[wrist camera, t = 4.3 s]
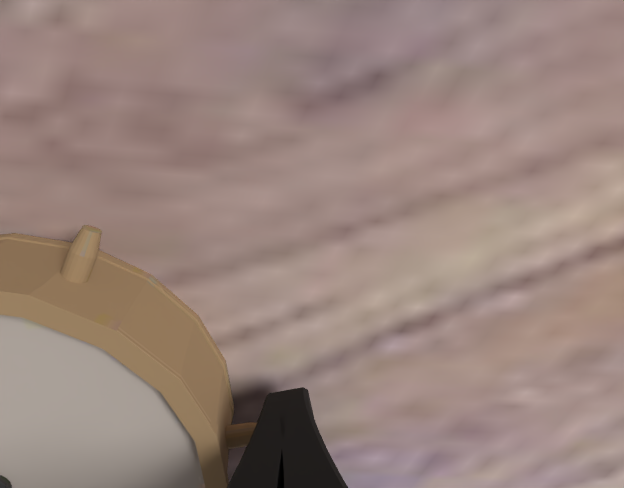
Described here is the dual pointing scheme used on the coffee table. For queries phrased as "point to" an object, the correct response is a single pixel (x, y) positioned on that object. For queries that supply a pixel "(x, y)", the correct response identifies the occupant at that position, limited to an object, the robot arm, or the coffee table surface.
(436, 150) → the coffee table surface
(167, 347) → the alarm clock
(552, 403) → the coffee table surface
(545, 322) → the coffee table surface
